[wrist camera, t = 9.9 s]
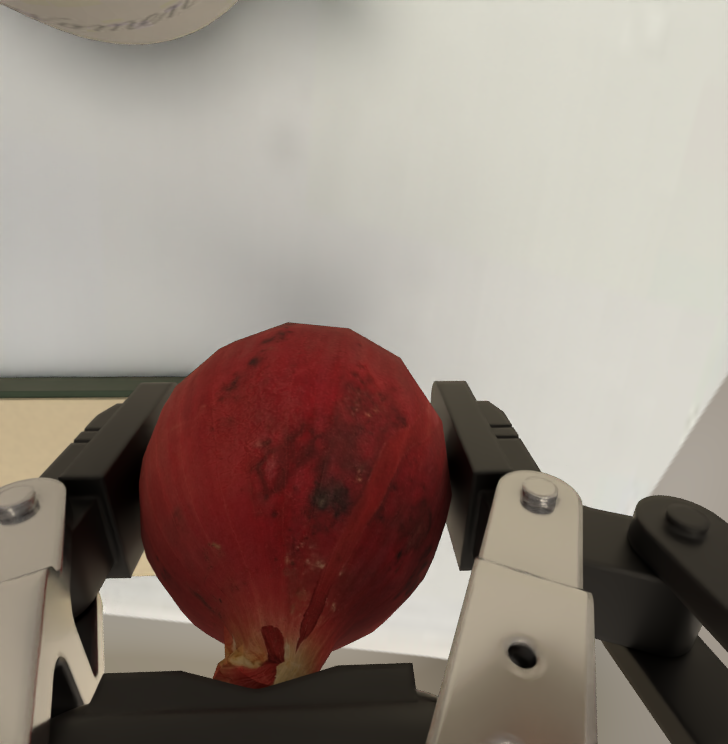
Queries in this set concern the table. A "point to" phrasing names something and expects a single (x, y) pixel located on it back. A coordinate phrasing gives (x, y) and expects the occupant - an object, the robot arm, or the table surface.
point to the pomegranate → (293, 496)
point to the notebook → (55, 421)
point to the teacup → (124, 17)
